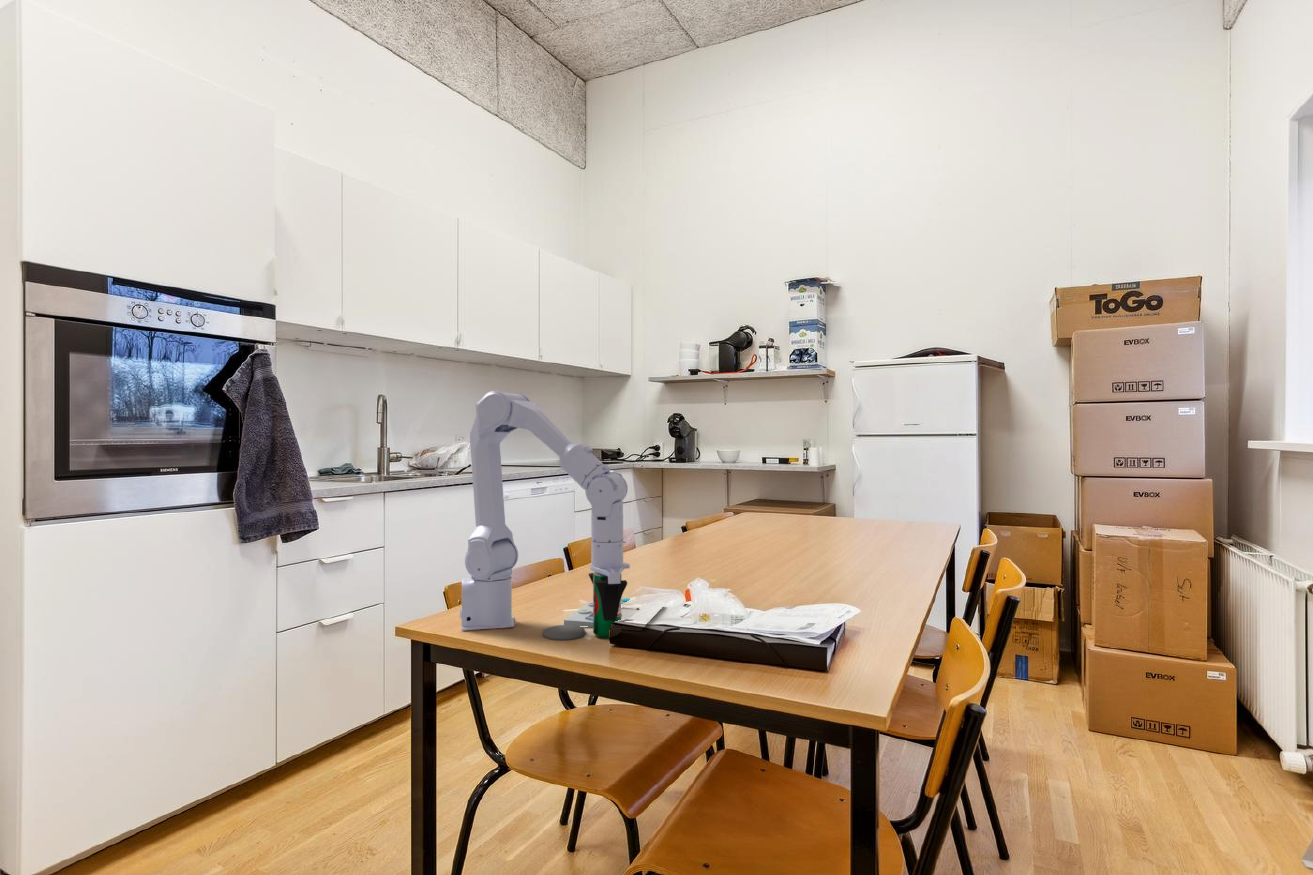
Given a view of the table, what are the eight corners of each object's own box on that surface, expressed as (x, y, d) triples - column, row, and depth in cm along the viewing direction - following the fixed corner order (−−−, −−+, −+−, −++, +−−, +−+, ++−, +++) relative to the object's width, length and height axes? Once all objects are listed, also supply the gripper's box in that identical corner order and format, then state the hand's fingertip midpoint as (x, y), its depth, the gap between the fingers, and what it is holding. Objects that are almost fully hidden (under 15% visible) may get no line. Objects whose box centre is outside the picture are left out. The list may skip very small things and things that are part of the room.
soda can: (607, 640, 120) (607, 572, 119) (587, 635, 123) (587, 568, 123) (627, 634, 123) (627, 567, 123) (607, 629, 127) (607, 564, 127)
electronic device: (640, 622, 125) (563, 617, 129) (640, 635, 125) (563, 629, 129) (663, 599, 143) (595, 595, 147) (663, 610, 143) (595, 606, 147)
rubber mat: (544, 641, 119) (544, 638, 119) (541, 629, 126) (541, 626, 126) (587, 638, 121) (587, 635, 121) (581, 626, 128) (581, 623, 128)
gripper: (637, 545, 117) (637, 625, 117) (621, 533, 131) (621, 604, 131) (596, 547, 115) (596, 628, 115) (584, 535, 129) (584, 607, 129)
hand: (607, 615), depth 123 cm, fingers closed on soda can, 5 cm apart
